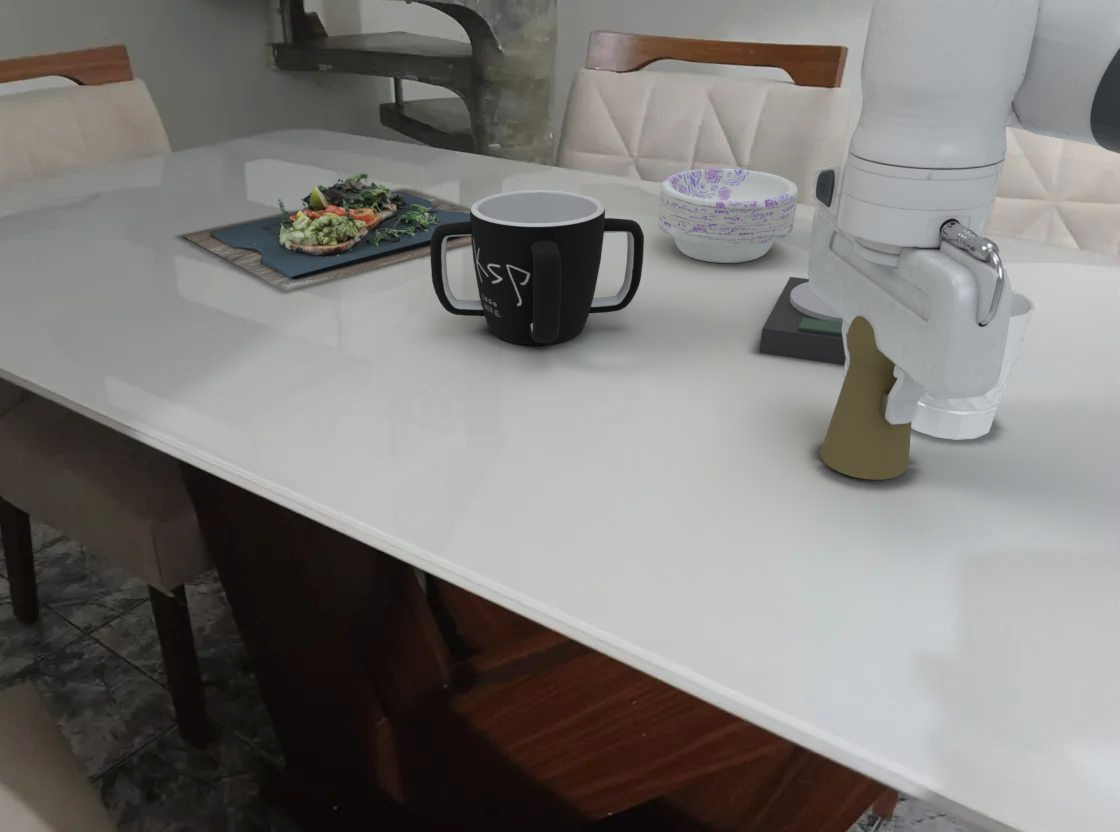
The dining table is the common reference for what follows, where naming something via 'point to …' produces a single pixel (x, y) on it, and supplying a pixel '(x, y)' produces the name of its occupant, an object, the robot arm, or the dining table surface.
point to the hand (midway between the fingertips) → (875, 400)
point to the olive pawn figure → (865, 415)
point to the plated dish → (336, 233)
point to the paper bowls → (726, 212)
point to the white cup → (977, 412)
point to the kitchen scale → (803, 326)
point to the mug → (537, 263)
